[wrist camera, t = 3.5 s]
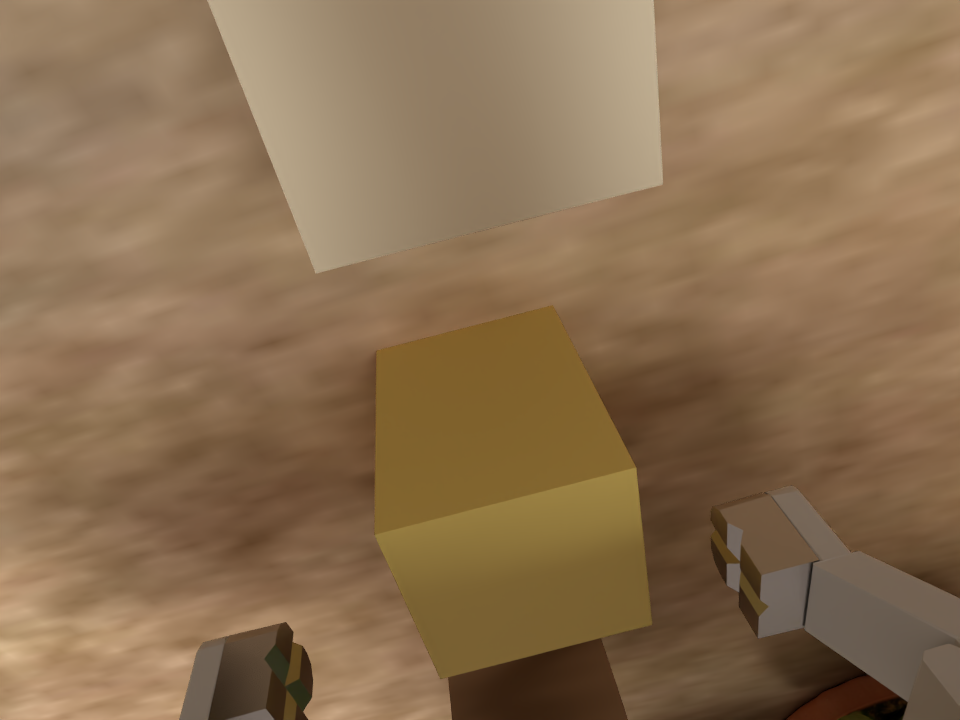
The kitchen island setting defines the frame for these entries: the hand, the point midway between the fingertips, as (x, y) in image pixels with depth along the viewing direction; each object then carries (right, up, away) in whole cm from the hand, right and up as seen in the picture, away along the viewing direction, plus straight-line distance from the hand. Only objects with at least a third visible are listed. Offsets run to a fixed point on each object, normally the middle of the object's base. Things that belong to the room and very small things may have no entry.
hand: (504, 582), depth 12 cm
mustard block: (0, +3, +5) cm, 6 cm away
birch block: (-2, +11, 0) cm, 11 cm away
